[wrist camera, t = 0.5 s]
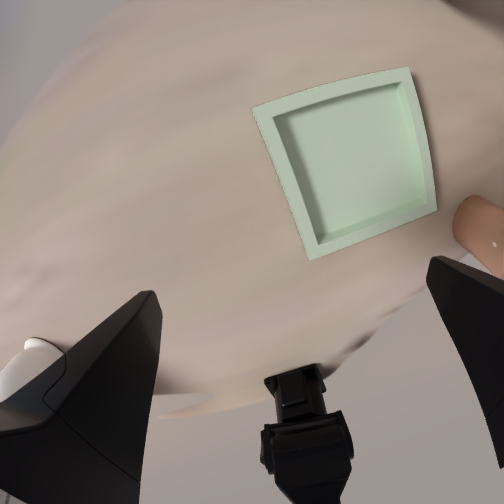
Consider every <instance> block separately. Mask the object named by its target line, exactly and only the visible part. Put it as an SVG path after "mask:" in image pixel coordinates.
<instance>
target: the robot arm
mask: <svg viewBox="0 0 504 504" xmlns="http://www.w3.org/2000/svg"><path fill="white" fill-rule="evenodd" d="M426 283H427V286H428V288H429V290H430V292H431V295H432V297H433V299H434V302H435V304H436V306H437V309H438V311H439V313H440V316H441V318H442V320H443V322H444V324H445V326H446V328H447V330H448V332H449V334H450V336H451V338H452V340H453V342H454V344H455V346H456V348H457V350H458V353H459V355H460V357H461V359H462V361H463V363H464V366H465V368H466V370H467V372H468V375H469V377H470V380H471V382H472V384H473V387H474V389H475V392H476V394H477V397H478V400H479V402H480V405H481V408H482V410H483V413H484V416H485V418H486V419H485V420H486V422H487V426H488V429H489V432H490V435H491V438H492V442H493V445H494V449H495V452H496V456H497V460H498V464H499V467H500V469H501V468H503V467H504V280H502V279H500V278H497V277H495V276H493V275H490V274H488V273H485V272H483V271H480V270H478V269H476V268H473V267H470V266H468V265H466V264H463V263H460V262H458V261H455V260H453V259H450V258H447V257H445V256H435V257H432V258H431V260H430V263H429V268H428V272H427V276H426ZM162 319H163V316H162V311H161V308H160V305H159V302H158V299H157V296H156V294H155V292H154V291H153V290H149V291H141V292H139V293H138V294H137V295H136V296H134V297H133V298H132V299H130V300H129V301H128V302H127V303H125V304H124V305H123V306H122V307H120V308H119V309H118V310H117V311H115V312H114V313H113V314H112V315H110V316H109V317H108V318H107V319H105V320H104V321H103V322H102V323H101V324H99V325H98V326H97V327H96V328H94V329H93V330H92V331H91V332H90V333H88V334H87V335H86V336H85V337H83V338H82V339H81V340H80V341H79V342H77V343H76V344H75V345H74V346H73V347H71V348H70V349H69V350H68V351H67V352H66V354H63V355H62V356H61V357H60V358H58V359H57V360H56V361H55V362H54V363H52V364H51V365H50V366H49V367H48V368H46V369H45V370H44V371H43V372H41V373H40V374H39V375H37V376H36V377H35V378H33V379H32V380H31V381H29V382H28V383H27V384H25V385H24V386H23V387H21V388H20V389H19V390H17V391H16V392H15V393H13V394H12V395H11V396H9V397H8V398H7V399H5V400H4V401H2V402H0V504H139V495H140V481H141V473H142V464H143V456H144V448H145V441H146V433H147V427H148V420H149V413H150V407H151V401H152V395H153V390H154V384H155V378H156V373H157V368H158V362H159V354H160V341H161V330H162ZM264 384H265V386H266V387H267V388H268V390H269V391H270V393H271V394H272V395H273V397H274V398H275V404H276V412H277V419H278V420H277V421H278V423H276V424H265V425H264V430H263V431H261V454H260V461H261V463H262V464H263V465H265V466H266V469H267V470H268V473H269V475H271V474H274V477H275V483H276V485H277V486H278V488H279V489H280V491H281V492H282V493H283V494H284V495H285V496H286V497H287V498H288V499H289V501H290V502H291V503H292V504H341V503H340V496H341V494H342V491H343V489H344V487H345V485H346V482H347V480H348V478H349V475H350V473H351V470H352V467H351V462H350V460H351V459H353V458H354V449H353V443H352V438H351V435H350V432H349V429H348V427H347V424H346V422H345V419H344V416H343V414H342V411H341V410H339V411H336V412H334V413H330V414H327V411H326V407H325V403H324V399H323V395H322V393H324V392H326V387H325V385H324V382H323V380H322V377H321V375H320V372H319V370H318V367H317V365H315V364H313V365H310V366H306V367H303V368H300V369H297V370H294V371H290V372H287V373H284V374H280V375H277V376H273V377H270V378H266V379H265V380H264Z"/></svg>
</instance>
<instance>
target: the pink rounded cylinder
mask: <svg viewBox="0 0 504 504" xmlns="http://www.w3.org/2000/svg"><path fill="white" fill-rule="evenodd" d="M452 230H453V236H454V238H455V240H456V241H457V242H458V243H459V244H460V245H461V246H462V247H464V248H465V249H466V250H467V251H468V252H469V253H470V254H472V255H473V256H474V257H475V258H476V259H477V260H478V261H480V262H481V263H482V264H483V265H484V266H485V267H486V268H487V269H488V270H489V271H490V272H491V273H492V274H494V276H495V277H497V278H500V279H502V280H504V210H502V209H500V208H499V207H497V206H496V205H494V204H492V203H491V202H489V201H487V200H486V199H484V198H482V197H480V196H478V195H472V196H470V197H468V198H467V199H465V200H464V201H463V202H462V203H461V205H460V206H459V208H458V210H457V212H456V214H455V217H454V220H453V228H452Z"/></svg>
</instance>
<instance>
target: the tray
mask: <svg viewBox="0 0 504 504" xmlns="http://www.w3.org/2000/svg"><path fill="white" fill-rule="evenodd" d="M251 111H252V113H253V115H254V118H255V120H256V123H257V125H258V127H259V130H260V132H261V135H262V137H263V140H264V142H265V145H266V147H267V149H268V152H269V154H270V157H271V159H272V162H273V165H274V167H275V170H276V172H277V175H278V177H279V180H280V183H281V185H282V188H283V191H284V193H285V196H286V198H287V201H288V204H289V207H290V209H291V212H292V215H293V217H294V220H295V223H296V226H297V229H298V231H299V234H300V237H301V240H302V243H303V246H304V248H305V251H306V253H307V256H308V258H309V260H313V259H315V258H318V257H321V256H323V255H326V254H329V253H331V252H334V251H336V250H339V249H342V248H344V247H347V246H350V245H352V244H355V243H357V242H360V241H362V240H365V239H368V238H370V237H373V236H375V235H378V234H380V233H383V232H385V231H388V230H390V229H393V228H395V227H398V226H400V225H403V224H405V223H408V222H410V221H413V220H415V219H418V218H420V217H423V216H425V215H427V214H430V213H432V212H435V211H437V205H436V194H435V185H434V177H433V170H432V163H431V157H430V151H429V146H428V140H427V135H426V130H425V126H424V121H423V117H422V113H421V109H420V105H419V101H418V97H417V94H416V90H415V86H414V83H413V80H412V77H411V73H410V70H409V67H403V68H395V69H390V70H384V71H379V72H374V73H369V74H364V75H360V76H355V77H351V78H347V79H343V80H339V81H335V82H331V83H327V84H324V85H320V86H317V87H313V88H310V89H306V90H303V91H300V92H297V93H293V94H290V95H287V96H284V97H281V98H278V99H275V100H272V101H270V102H267V103H264V104H261V105H258V106H256V107H253V108H251Z"/></svg>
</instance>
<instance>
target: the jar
mask: <svg viewBox="0 0 504 504" xmlns="http://www.w3.org/2000/svg"><path fill="white" fill-rule="evenodd" d="M24 349H25V350H23V351H21V352H19V353H18V354H16V355H15V356H14V357H13V358H12V359H11V360H10V361H9V363H8V364H7V365H6V366H5V367H4V368H3V370H2V371H1V372H0V402H2V401H4V400H5V399H7V398H8V397H9V396H11V395H12V394H13V393H15V392H16V391H17V390H19V389H20V388H21V387H23V386H24V385H25V384H27V383H28V382H29V381H31V380H32V379H33V378H35V377H36V376H37V375H39V374H40V373H41V372H43V371H44V370H45V369H46V368H48V367H49V366H50V365H51V364H52V363H54V362H55V361H56V360H57V359H58V358H60V357H61V356H62V355H63V353H62V352H61V351H60V350H59V349H57V348H56V347H55V346H53V345H51V344H50V343H48V342H46V341H44V340H41V339H37V338H30V339H28V340H27V341H26V342H25V346H24Z"/></svg>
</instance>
